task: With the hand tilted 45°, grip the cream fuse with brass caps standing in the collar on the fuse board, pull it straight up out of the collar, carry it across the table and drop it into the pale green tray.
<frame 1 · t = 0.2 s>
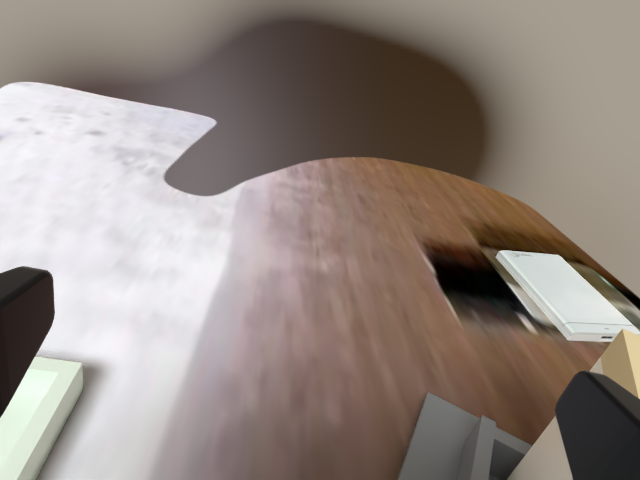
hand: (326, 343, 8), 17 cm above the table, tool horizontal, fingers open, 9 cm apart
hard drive: (558, 301, 46), on the table
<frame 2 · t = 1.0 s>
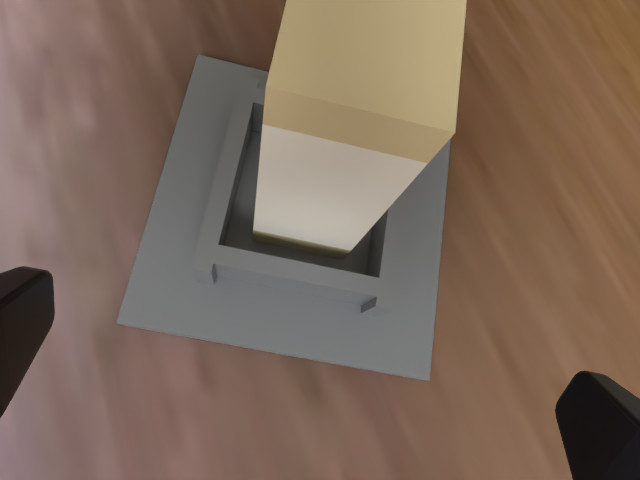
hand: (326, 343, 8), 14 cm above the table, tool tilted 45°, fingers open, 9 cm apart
fuse: (306, 207, 22), point 1 cm above the table, touching fuse board
fuse board: (304, 212, 23), on the table
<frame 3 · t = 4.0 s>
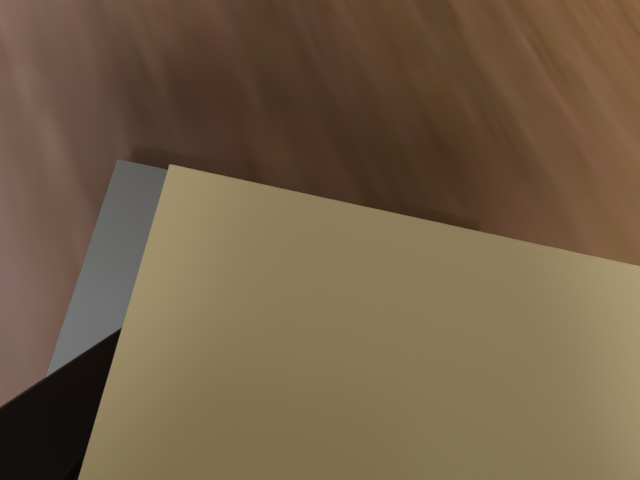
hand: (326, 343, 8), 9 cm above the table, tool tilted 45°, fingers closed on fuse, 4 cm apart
fuse: (276, 400, 15), point 1 cm above the table, touching fuse board, gripper
fuse board: (274, 399, 15), on the table
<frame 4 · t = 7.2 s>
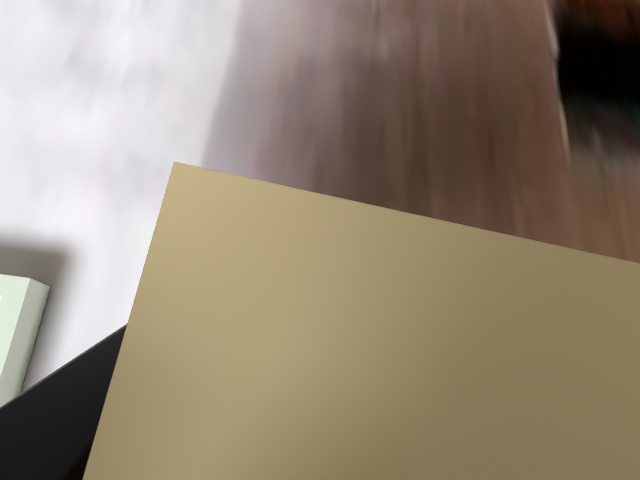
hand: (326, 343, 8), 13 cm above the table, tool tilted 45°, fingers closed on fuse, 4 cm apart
fuse: (277, 400, 15), point 6 cm above the table, touching gripper
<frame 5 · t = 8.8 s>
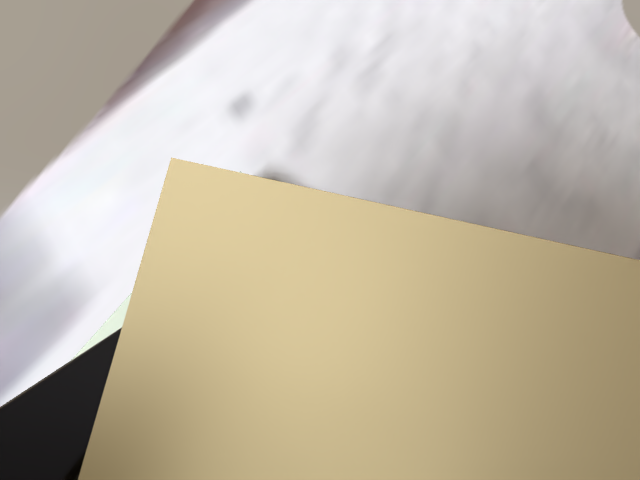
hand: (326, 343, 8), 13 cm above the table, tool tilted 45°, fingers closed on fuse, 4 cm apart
fuse: (277, 399, 15), point 6 cm above the table, touching gripper
tray: (265, 391, 20), on the table
when the fingers open (9 cm above the table, at t = 10.4 s): fuse drops 1 cm, resting on tray.
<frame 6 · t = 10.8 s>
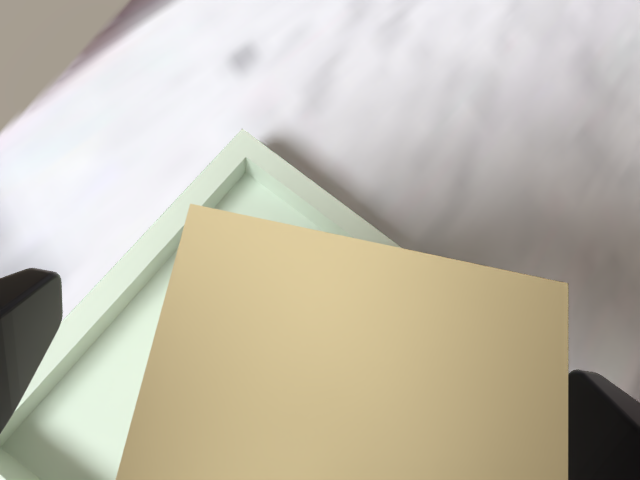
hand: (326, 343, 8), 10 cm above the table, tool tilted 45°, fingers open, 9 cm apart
fuse: (275, 395, 16), point 1 cm above the table, touching tray
tray: (272, 397, 16), on the table
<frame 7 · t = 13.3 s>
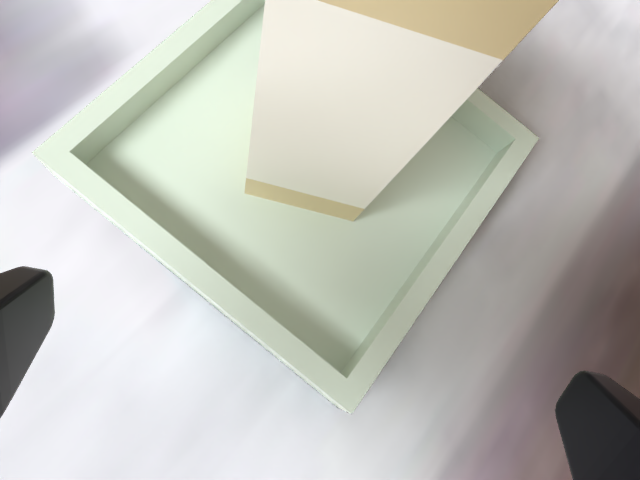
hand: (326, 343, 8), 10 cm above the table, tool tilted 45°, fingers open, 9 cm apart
fuse: (310, 157, 19), point 1 cm above the table, touching tray
tray: (307, 165, 19), on the table
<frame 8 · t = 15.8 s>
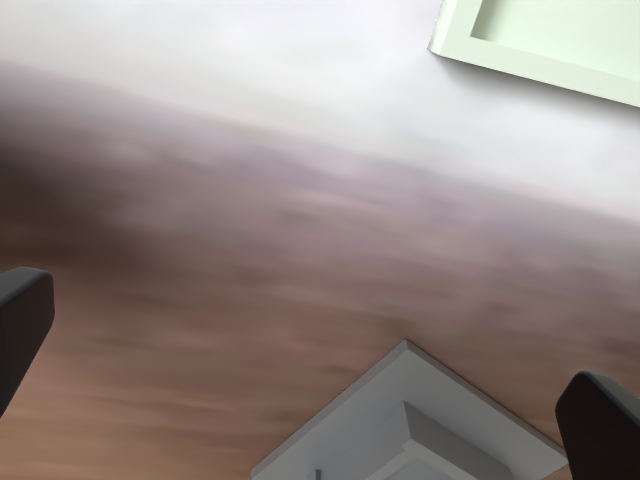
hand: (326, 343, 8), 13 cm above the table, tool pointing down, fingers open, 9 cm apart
fuse board: (405, 459, 29), on the table
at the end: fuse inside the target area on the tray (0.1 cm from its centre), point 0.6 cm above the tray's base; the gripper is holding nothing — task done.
